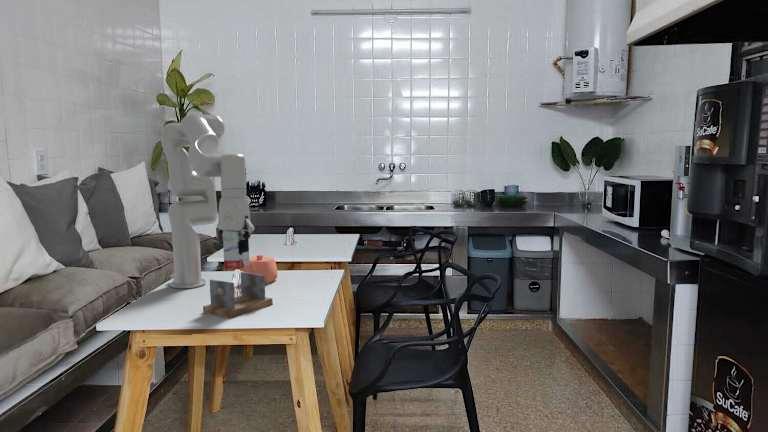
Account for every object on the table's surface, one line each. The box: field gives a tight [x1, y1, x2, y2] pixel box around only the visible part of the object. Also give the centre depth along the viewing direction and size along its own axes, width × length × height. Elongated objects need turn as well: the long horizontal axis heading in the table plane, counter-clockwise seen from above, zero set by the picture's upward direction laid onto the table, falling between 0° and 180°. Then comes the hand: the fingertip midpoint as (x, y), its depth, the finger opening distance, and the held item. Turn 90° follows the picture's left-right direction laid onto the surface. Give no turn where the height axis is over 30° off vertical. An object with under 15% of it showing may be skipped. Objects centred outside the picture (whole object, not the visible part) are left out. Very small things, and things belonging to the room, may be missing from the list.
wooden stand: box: [202, 271, 274, 319], centre depth 182 cm, size 12×18×10 cm, turn 147°
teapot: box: [242, 254, 279, 285], centre depth 218 cm, size 12×18×10 cm, turn 169°
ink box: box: [222, 230, 250, 270], centre depth 180 cm, size 9×5×12 cm, turn 168°
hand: (236, 250), depth 180 cm, fingers closed on ink box, 6 cm apart
